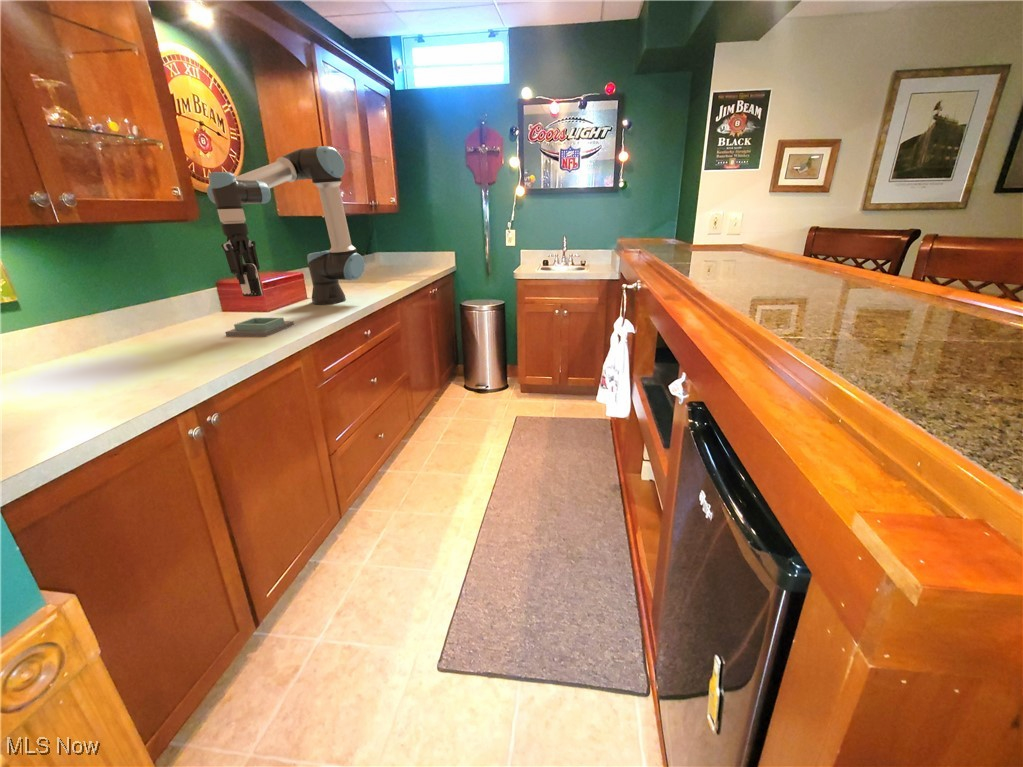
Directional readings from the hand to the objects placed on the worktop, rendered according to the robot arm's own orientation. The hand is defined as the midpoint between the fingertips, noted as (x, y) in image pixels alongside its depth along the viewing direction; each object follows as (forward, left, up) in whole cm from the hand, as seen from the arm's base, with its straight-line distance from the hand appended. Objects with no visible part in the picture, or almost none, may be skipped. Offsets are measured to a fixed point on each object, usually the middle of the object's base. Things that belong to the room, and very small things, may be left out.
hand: (251, 291), depth 156 cm
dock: (0, 0, -14) cm, 14 cm away
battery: (0, 0, -2) cm, 2 cm away
